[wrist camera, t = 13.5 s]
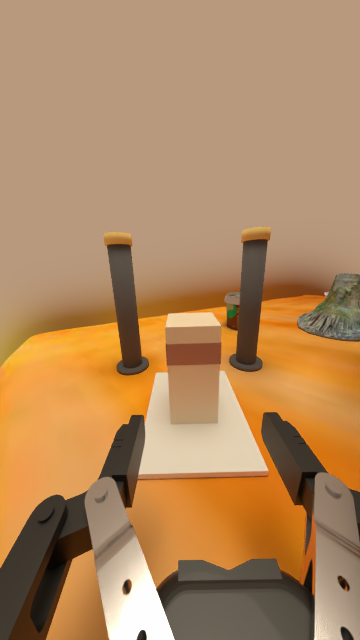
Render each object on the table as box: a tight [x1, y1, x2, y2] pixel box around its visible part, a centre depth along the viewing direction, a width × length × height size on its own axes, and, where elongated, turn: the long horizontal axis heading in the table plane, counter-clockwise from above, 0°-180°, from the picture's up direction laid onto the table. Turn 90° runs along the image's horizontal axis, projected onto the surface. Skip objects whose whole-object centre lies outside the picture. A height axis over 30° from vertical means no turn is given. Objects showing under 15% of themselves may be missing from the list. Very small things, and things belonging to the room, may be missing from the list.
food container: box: [224, 292, 240, 330], centre depth 56 cm, size 12×6×10 cm, turn 161°
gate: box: [103, 227, 271, 375], centre depth 31 cm, size 28×6×24 cm, turn 90°
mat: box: [138, 371, 268, 479], centre depth 23 cm, size 12×16×1 cm
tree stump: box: [298, 274, 360, 341], centre depth 51 cm, size 18×20×18 cm
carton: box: [165, 312, 221, 424], centre depth 22 cm, size 6×6×12 cm
